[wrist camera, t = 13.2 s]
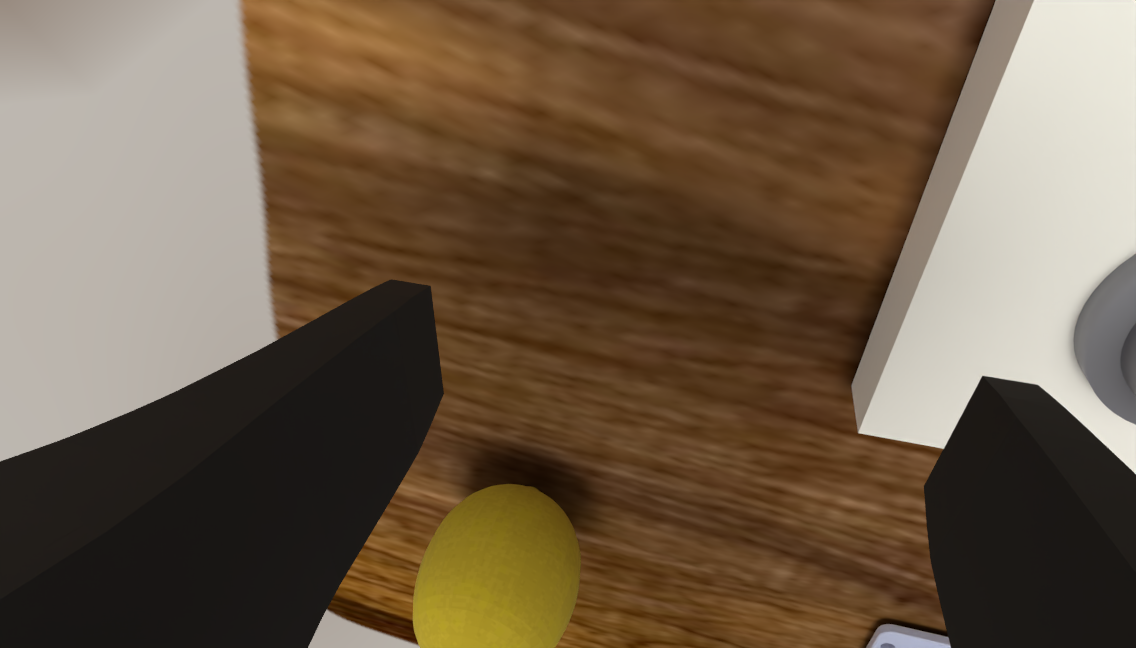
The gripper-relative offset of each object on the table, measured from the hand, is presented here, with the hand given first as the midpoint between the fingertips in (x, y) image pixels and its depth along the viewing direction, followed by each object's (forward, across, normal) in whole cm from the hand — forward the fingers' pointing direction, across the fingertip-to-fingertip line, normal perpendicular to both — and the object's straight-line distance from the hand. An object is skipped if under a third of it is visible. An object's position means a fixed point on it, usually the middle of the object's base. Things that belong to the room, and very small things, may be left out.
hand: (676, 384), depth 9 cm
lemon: (+10, +5, +15) cm, 18 cm away
